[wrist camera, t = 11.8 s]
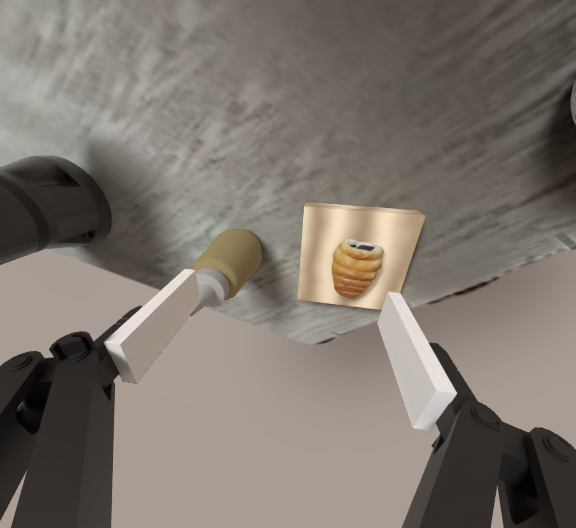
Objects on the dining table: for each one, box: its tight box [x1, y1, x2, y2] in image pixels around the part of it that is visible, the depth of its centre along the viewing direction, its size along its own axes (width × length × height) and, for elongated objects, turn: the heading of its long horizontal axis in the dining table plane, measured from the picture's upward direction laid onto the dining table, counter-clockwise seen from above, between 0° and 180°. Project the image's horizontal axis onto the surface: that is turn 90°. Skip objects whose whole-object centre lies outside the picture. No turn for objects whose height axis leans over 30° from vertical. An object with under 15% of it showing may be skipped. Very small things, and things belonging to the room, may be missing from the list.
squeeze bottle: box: [190, 229, 262, 316], centre depth 30 cm, size 8×8×18 cm
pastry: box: [331, 239, 384, 299], centre depth 32 cm, size 9×7×4 cm
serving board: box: [298, 202, 426, 310], centre depth 35 cm, size 16×16×3 cm
